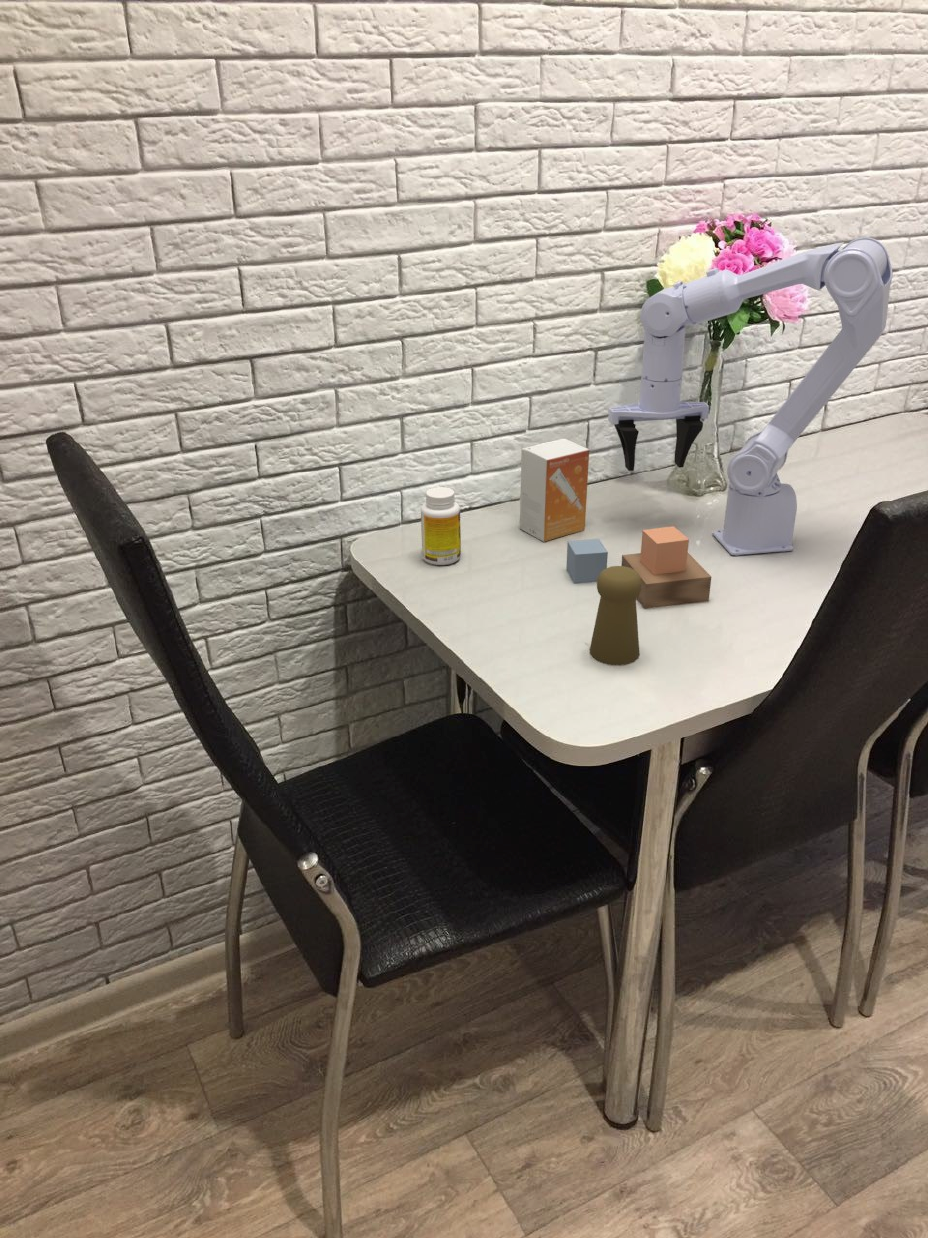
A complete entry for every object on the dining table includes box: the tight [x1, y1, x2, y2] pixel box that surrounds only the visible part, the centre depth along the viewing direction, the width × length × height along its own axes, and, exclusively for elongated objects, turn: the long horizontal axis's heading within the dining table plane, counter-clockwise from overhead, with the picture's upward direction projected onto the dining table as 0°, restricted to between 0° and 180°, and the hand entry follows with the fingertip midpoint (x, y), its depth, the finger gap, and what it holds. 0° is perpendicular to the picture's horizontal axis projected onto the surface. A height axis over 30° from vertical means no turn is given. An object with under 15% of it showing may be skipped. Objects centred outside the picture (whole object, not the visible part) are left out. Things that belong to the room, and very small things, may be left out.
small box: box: [519, 438, 590, 542], centre depth 154 cm, size 8×6×13 cm
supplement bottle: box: [420, 486, 462, 566], centre depth 146 cm, size 6×6×10 cm
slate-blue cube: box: [565, 538, 609, 585], centre depth 143 cm, size 4×4×4 cm
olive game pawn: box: [589, 565, 642, 666], centre depth 122 cm, size 6×6×11 cm
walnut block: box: [620, 552, 712, 610], centre depth 139 cm, size 9×9×4 cm
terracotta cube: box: [640, 526, 690, 575], centre depth 137 cm, size 4×4×4 cm
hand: (654, 466), depth 154 cm, fingers open, 7 cm apart
